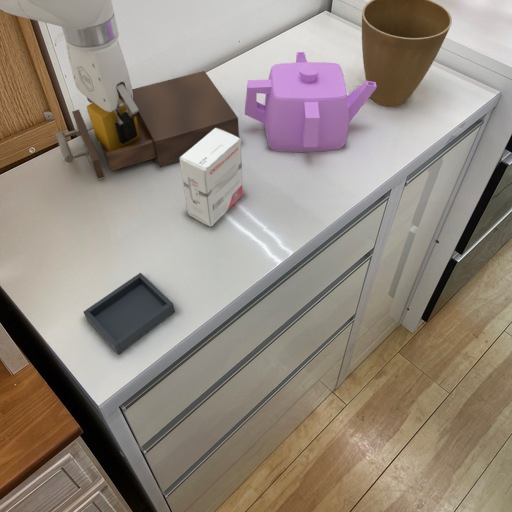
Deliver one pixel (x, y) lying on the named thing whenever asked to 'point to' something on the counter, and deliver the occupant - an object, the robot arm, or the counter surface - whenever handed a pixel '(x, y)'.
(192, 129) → the cabinet
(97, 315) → the dark grey tray
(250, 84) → the teakettle
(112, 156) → the drawer
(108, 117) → the box
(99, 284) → the counter surface
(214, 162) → the ink box
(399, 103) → the plant pot
